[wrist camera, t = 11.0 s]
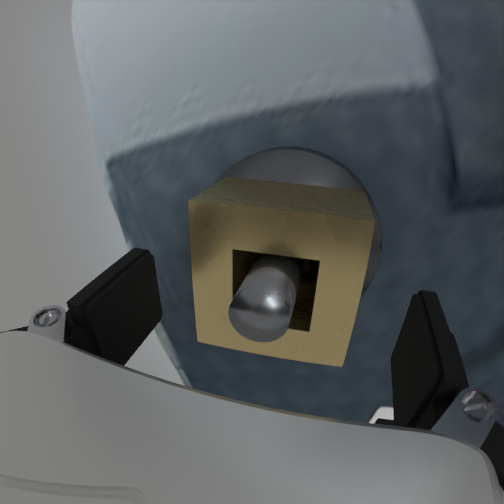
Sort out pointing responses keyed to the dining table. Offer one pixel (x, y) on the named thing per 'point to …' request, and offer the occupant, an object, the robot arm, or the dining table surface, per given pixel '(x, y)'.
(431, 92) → the dining table surface
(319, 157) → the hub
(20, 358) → the robot arm
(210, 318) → the collar
